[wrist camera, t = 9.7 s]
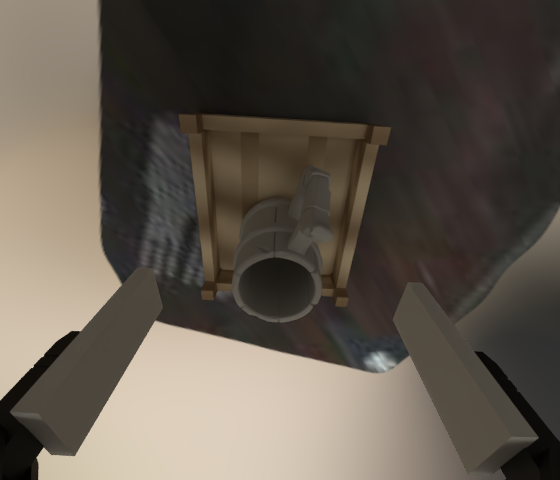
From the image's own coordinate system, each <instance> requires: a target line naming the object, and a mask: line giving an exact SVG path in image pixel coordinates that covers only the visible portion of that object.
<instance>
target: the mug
mask: <svg viewBox="0 0 560 480" xmlns="http://www.w3.org/2000/svg"><path fill="white" fill-rule="evenodd" d="M330 184H331V175H330V174H329V173H328V172H325V171H324V170H323V169H321V168H319V167H316V166H314V165H310V166H308V167H307V168H305V169H304V170H303V172H302V174H301V177H300V179H299V182H298V186H297V189H296V191H295V194H294V196H293V199H289V198H285V197H278V198H276V197H272V198H270V199H268V200H263V201H261V202H259V203H258V204H256V205H255V206H253V207H252V208H251V209H250V210H249V211H248V212H247V214H246V215H245V217H244V219H243V221H242V223H241V227H240V235H239V239H240V243H239V244H238V246H237V248H236V251H235V254H234V259H233V269H234V273H233V277H232V292H233V296H234V299H235V301H236V303H237V304H238V306H239V307H241V309H242V310H244V311H246V312H247V313H248V314H249V315H255V316H258V317H259V318H261V319H264V320H265V321H269V322H278V321H279V322H289V321H292V320H296V319H298V318H300V317H302V316H304V315H306V314H307V313H308V312H310V311H311V309H312V308H313V304H317V303H318V301H319V299H320V297H321V293H322V279H321V270H322V266H323V260H322V257H321V254H320V250H319V248H318V245H317V243H326V242H328V241H329V240H331V239H332V237H333V236H334V233H333V231H332V230H331V228H330V225H329V216H330V198H331V191H330V190H329V186H330Z"/></svg>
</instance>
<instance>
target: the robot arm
mask: <svg viewBox="0 0 560 480" xmlns="http://www.w3.org/2000/svg"><path fill="white" fill-rule="evenodd" d="M162 308H163V306H162V302H161V299H160V295H159V291H158V287H157V283H156V279H155V275H154V271H153V268H140V267H138V268H137V269H136V270H135V271H134V272H133V273H132V274H131V276H130V277H129V278H128V279H127V280H126V281H125V282H124V283H123V285H122V286H121V287H120V288H119V289H118V290H117V291H116V292H115V294H114V295H113V296H112V297H111V298H110V299H109V300H108V301H107V303H106V304H105V305H104V306H103V307H102V308H101V309H100V310H99V312H98V313H97V314H96V315H95V316H94V317H93V319H92V320H91V321H90V322H89V323H88V324H87V325H86V326H85V327H84V329H83V330H82V331H80V332H79V331H71V332H70V333H69V334H67V335H65V336H64V337H62V338H61V339H60V340H58V341H57V342H56V343H55V344H54V345H53V346H52V347H51V348H50V349H49V350H48V351H47V352H46V353H45V354H44V357H42V358H40V360H39V361H38V362H37V363H36V364H35V365H34V367H33V368H31V369H30V370H29V371H28V372H27V373H26V374H25V375H24V376H23V377H22V378H21V380H19V382H18V383H17V384H16V385H15V386H14V387H13V388H12V389H11V390H10V391H9V392H8V393H7V394H6V395H5V396H4V397H3V398H2V399H1V400H0V480H38V461H37V458H36V457H37V456H38V455H39V453H40V451H41V450H42V449H43V447H44V448H45V449H46V450H47V451H48V452H49V453H50V454H51V455H65V456H75V455H76V453H77V451H78V449H79V448H80V446H81V444H82V443H83V441H84V439H85V438H86V436H87V434H88V433H89V431H90V429H91V428H92V426H93V424H94V423H95V421H96V419H97V418H98V416H99V414H100V412H101V411H102V409H103V407H104V406H105V404H106V402H107V401H108V399H109V397H110V396H111V394H112V392H113V390H114V389H115V387H116V386H117V384H118V382H119V380H120V379H121V377H122V375H123V374H124V372H125V370H126V369H127V367H128V365H129V364H130V362H131V360H132V359H133V357H134V355H135V354H136V352H137V350H138V348H139V346H140V345H141V343H142V342H143V340H144V338H145V337H146V335H147V333H148V332H149V330H150V328H151V326H152V325H153V323H154V321H155V320H156V318H157V316H158V315H159V313H160V311H161V310H162ZM393 322H394V324H395V326H396V328H397V330H398V332H399V334H400V336H401V338H402V340H403V342H404V344H405V346H406V348H407V350H408V352H409V354H410V356H411V358H412V360H413V362H414V365H415V367H416V369H417V371H418V372H419V374H420V377H421V379H422V381H423V383H424V385H425V387H426V389H427V391H428V393H429V395H430V397H431V399H432V401H433V403H434V405H435V407H436V409H437V411H438V414H439V416H440V417H441V420H442V422H443V424H444V426H445V427H446V430H447V432H448V434H449V436H450V438H451V440H452V442H453V444H454V446H455V448H456V450H457V452H458V454H459V456H460V458H461V460H462V462H463V464H464V467H465V469H466V471H467V473H468V474H469V475H492V474H493V473H495V472H496V471H497V470H498V469H500V468H501V470H502V472H503V473H504V475H505V477H506V480H560V442H559V440H558V439H557V438H556V437H555V436H554V435H553V433H552V432H551V431H550V430H549V429H548V427H547V426H546V425H545V423H544V422H543V421H542V420H541V418H540V417H539V416H538V415H537V413H536V412H535V411H534V410H533V408H532V407H531V406H530V405H529V404H528V402H527V401H526V400H525V399H524V397H523V396H522V395H521V394H520V392H517V388H516V387H515V386H514V385H513V384H512V382H511V381H510V380H508V378H507V376H506V375H505V374H504V373H503V371H502V370H501V369H500V367H499V366H498V365H497V364H496V363H495V362H494V361H492V360H491V359H490V358H489V357H488V356H487V355H486V354H484V353H483V352H476V351H473V350H472V348H471V347H470V346H469V344H468V343H467V342H466V340H465V339H464V338H463V336H462V335H461V334H460V332H459V331H458V330H457V328H456V327H455V326H454V324H453V323H452V322H451V320H450V319H449V318H448V316H447V315H446V314H445V312H444V311H443V310H442V308H441V307H440V306H439V304H438V303H437V302H436V300H435V299H434V298H433V296H432V295H431V294H430V292H429V291H428V290H427V288H426V287H425V286H424V284H423V283H411V282H408V283H407V286H406V288H405V291H404V293H403V295H402V298H401V300H400V303H399V305H398V308H397V310H396V313H395V315H394V318H393Z"/></svg>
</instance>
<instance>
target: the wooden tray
mask: <svg viewBox="0 0 560 480" xmlns="http://www.w3.org/2000/svg"><path fill="white" fill-rule="evenodd" d="M178 115H179V123H180V130H181V133H188V136H189V144H190V153H191V162H192V171H193V179H194V188H195V197H196V206H197V214H198V223H199V232H200V241H201V249H202V258H203V267H204V275H205V283H204V285H203V287H202V289H201V295H202V300H214V298H215V295H216V293H217V291H232V277H233V273H234V269H233V259H234V254H235V251H236V248H237V246H238V244H239V243H240V239H239V235H240V227H241V223H242V221H243V219H244V217H245V215H246V214H247V212H248V211H249V210H250V209H251V208H252V207H253V206H255V205H256V204H258V203H259V202H261V201H263V200H268V199H270V198H272V197H276V198H278V197H285V198H289V199H293V196H294V194H295V191H296V189H297V186H298V182H299V179H300V177H301V174H302V172H303V170H304V169H305V168H307V167H308V166H310V165H314V166H316V167H319V168H321V169H323V170H324V171H325V172H328V173H329V174H330V175H331V184H330V186H329V190H330V191H331V198H330V216H329V225H330V228H331V230H332V231H333V233H334V236H333V237H332V239H331V240H329V241H328V242H326V243H317V245H318V248H319V250H320V254H321V257H322V260H323V266H322V270H321V279H322V293H321V296H333V300H334V303H335V306H342V307H347V303H348V299H349V297H348V294H347V291H346V284H347V280H348V276H349V271H350V267H351V263H352V259H353V254H354V250H355V246H356V241H357V237H358V233H359V229H360V224H361V220H362V216H363V211H364V207H365V203H366V199H367V194H368V190H369V186H370V181H371V177H372V173H373V169H374V164H375V160H376V156H377V151H378V147H379V145H387V142H388V138H389V134H390V130H391V127H386V126H380V125H374V124H366V123H350V122H334V121H318V120H302V119H286V118H269V117H253V116H237V115H221V114H205V113H194V114H178Z"/></svg>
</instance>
